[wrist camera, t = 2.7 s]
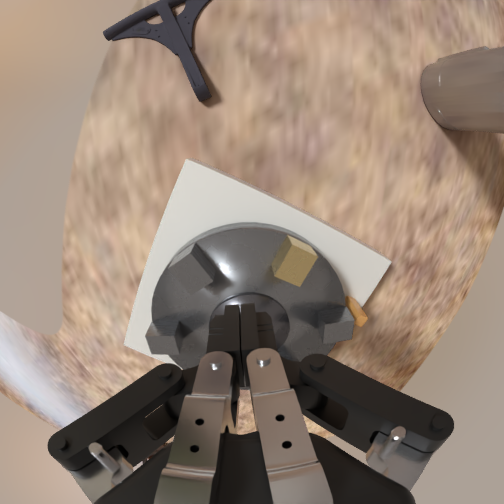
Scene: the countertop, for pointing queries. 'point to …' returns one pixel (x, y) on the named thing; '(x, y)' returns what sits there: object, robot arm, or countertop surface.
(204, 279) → the shallow round grey dish
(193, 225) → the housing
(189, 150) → the countertop surface
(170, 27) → the bracket
